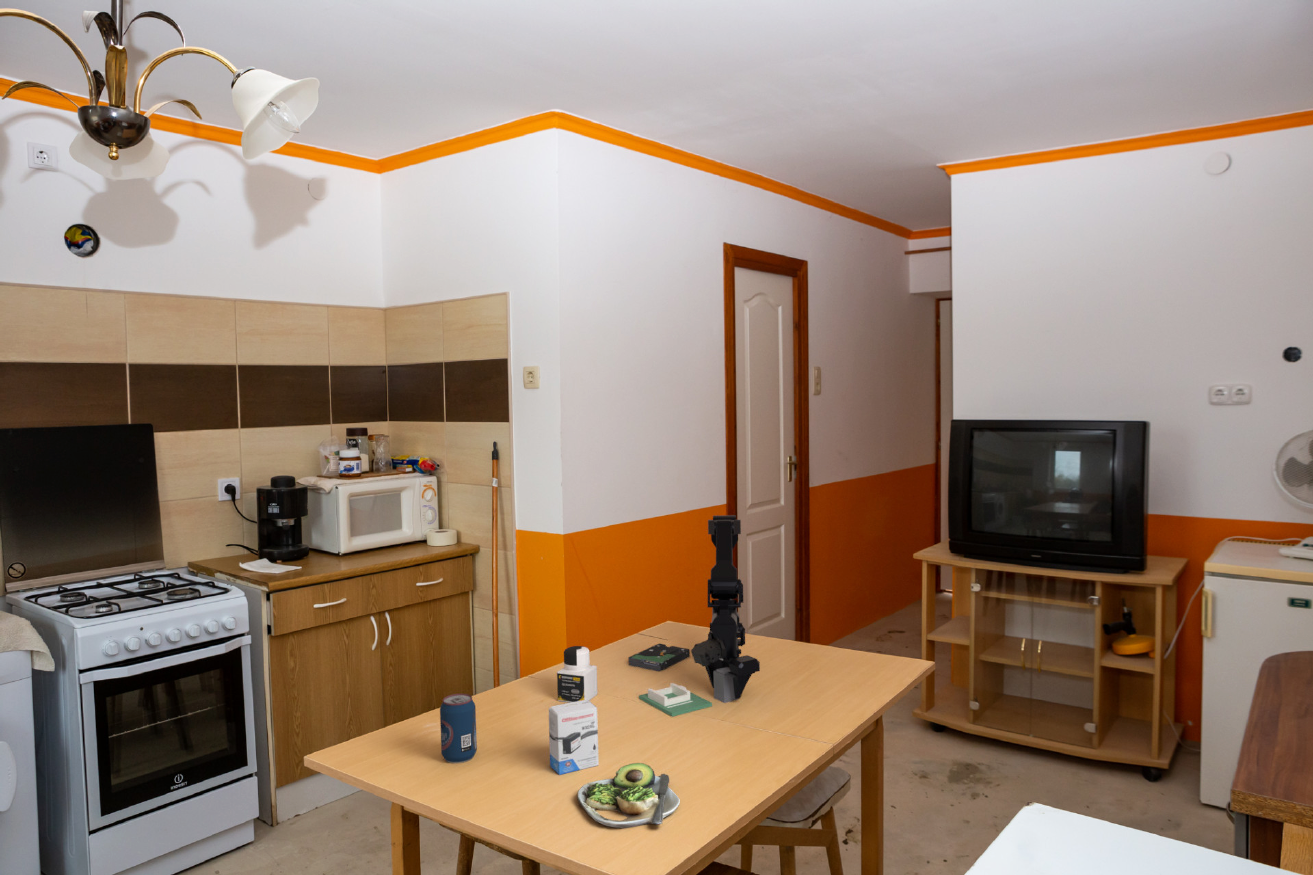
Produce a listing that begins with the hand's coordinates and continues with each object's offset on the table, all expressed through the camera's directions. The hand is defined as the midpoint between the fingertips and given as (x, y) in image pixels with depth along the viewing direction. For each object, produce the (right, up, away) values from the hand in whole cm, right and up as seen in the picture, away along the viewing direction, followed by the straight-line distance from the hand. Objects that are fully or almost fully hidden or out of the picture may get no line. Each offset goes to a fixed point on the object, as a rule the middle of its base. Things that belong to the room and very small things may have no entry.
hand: (725, 693), depth 205 cm
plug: (0, -1, 0) cm, 1 cm away
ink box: (-32, -4, -35) cm, 48 cm away
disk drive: (-15, -1, +30) cm, 33 cm away
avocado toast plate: (-21, -5, -50) cm, 55 cm away
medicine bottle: (-35, -2, +3) cm, 35 cm away
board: (-12, -2, -2) cm, 12 cm away
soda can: (-56, -4, -30) cm, 63 cm away
